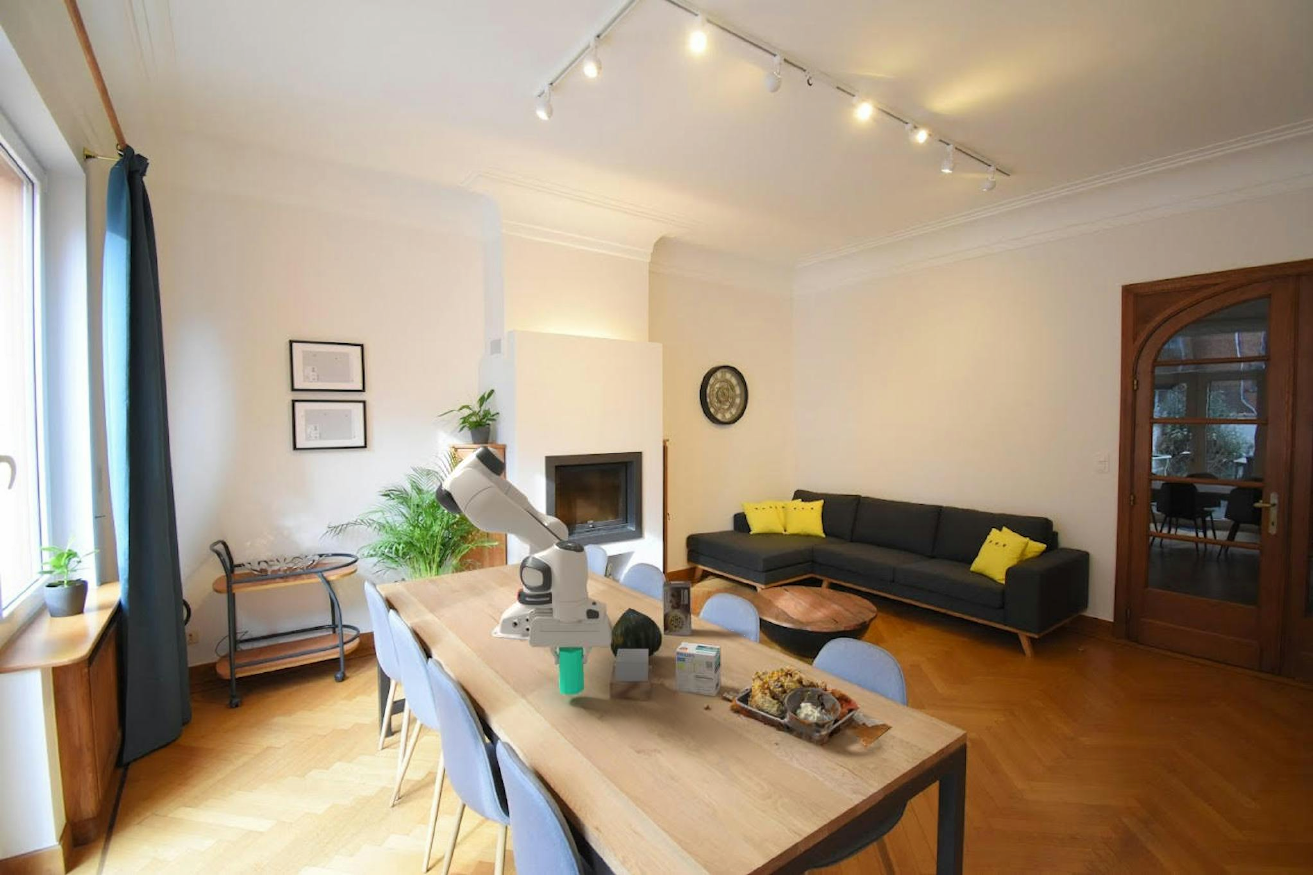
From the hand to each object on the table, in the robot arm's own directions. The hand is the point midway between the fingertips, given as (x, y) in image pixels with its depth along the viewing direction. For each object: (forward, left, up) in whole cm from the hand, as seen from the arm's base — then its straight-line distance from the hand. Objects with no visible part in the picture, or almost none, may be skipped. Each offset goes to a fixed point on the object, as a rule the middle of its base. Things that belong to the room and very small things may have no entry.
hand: (571, 663), depth 144 cm
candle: (0, 0, -7) cm, 7 cm away
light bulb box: (+32, +8, -10) cm, 34 cm away
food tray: (+53, -7, -11) cm, 55 cm away
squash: (+15, +23, -10) cm, 29 cm away
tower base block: (+14, +6, -10) cm, 19 cm away
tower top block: (+15, +6, -5) cm, 17 cm away
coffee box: (+27, +48, -10) cm, 56 cm away
